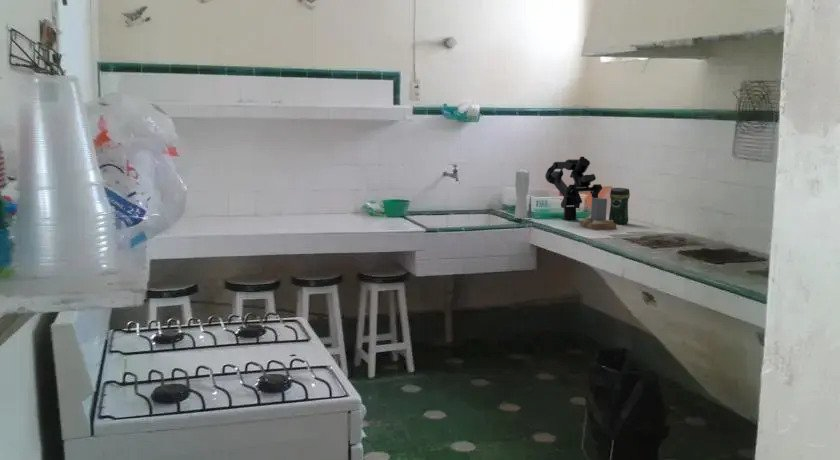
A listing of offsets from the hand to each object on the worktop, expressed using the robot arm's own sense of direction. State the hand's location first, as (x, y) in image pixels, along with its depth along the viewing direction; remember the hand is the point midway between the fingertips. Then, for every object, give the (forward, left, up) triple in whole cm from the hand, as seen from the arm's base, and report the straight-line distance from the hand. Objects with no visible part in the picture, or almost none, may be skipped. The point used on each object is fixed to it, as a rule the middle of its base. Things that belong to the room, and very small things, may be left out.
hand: (589, 202), depth 388 cm
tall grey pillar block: (+9, -1, -9) cm, 13 cm away
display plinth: (+9, -1, -11) cm, 15 cm away
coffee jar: (+2, +19, -12) cm, 22 cm away
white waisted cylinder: (-29, -20, -12) cm, 38 cm away
